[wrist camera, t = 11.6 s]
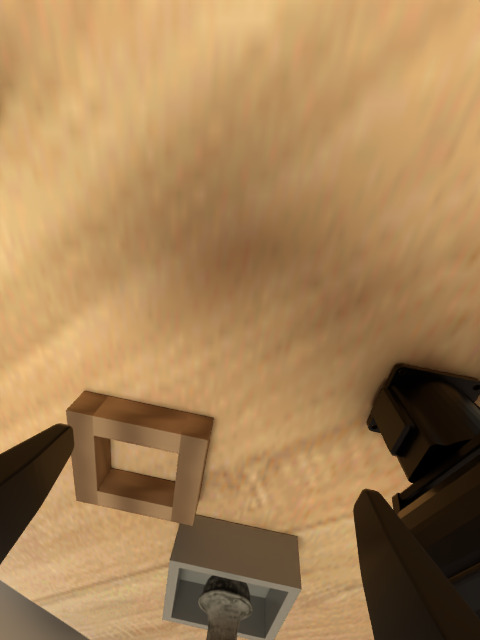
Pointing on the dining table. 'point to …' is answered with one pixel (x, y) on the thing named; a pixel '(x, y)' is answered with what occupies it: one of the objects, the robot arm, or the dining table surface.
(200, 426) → the socket block
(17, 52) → the dining table surface
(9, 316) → the dining table surface
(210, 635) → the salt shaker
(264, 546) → the bin
